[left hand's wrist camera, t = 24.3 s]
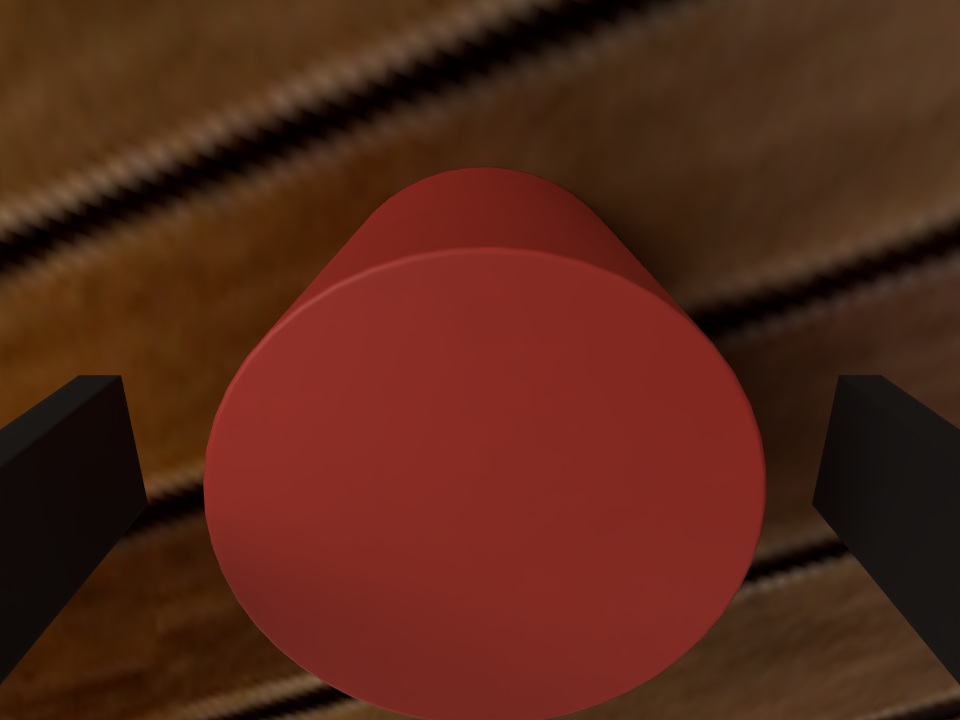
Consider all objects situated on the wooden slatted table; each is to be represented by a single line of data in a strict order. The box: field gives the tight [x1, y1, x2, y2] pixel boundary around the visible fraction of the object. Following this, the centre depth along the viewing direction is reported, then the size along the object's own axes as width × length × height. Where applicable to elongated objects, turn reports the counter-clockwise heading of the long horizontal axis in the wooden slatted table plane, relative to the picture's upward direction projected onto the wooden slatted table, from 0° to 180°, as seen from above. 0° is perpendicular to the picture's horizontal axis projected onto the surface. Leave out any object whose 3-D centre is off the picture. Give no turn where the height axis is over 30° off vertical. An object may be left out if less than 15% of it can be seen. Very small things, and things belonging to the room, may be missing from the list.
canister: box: [203, 167, 766, 720], centre depth 14 cm, size 8×8×9 cm
